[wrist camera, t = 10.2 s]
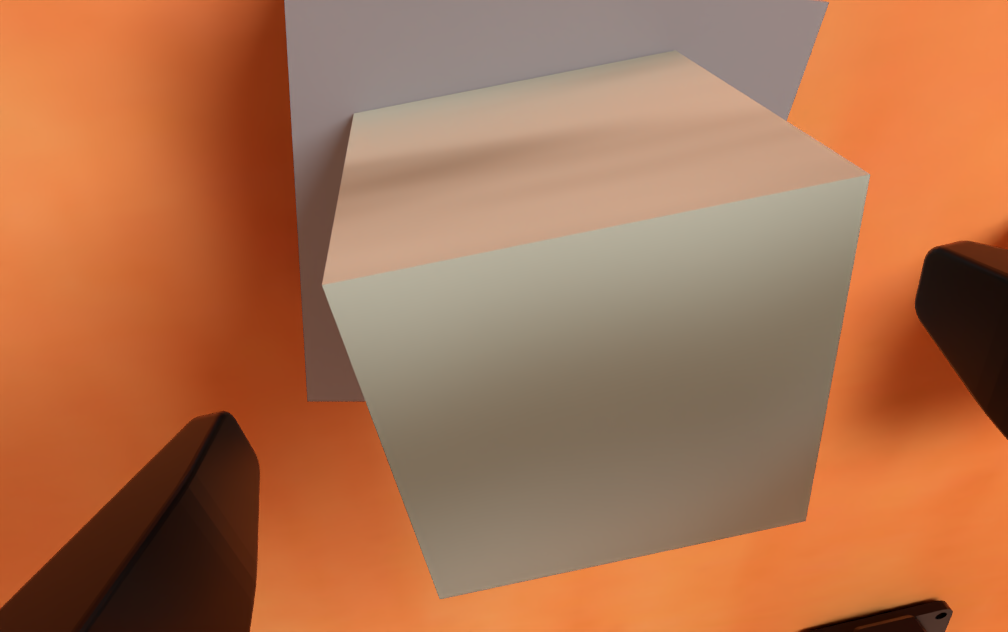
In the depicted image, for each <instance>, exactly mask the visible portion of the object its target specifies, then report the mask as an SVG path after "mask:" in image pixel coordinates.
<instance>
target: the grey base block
mask: <svg viewBox="0 0 1008 632" xmlns="http://www.w3.org/2000/svg"><path fill="white" fill-rule="evenodd" d="M284 4H285V21H286V39H287V56H288V73H289V91H290V108H291V125H292V142H293V160H294V177H295V194H296V212H297V229H298V246H299V264H300V281H301V298H302V315H303V333H304V350H305V367H306V385H307V401H365V399H364V396H363V393H362V391H361V388H360V385H359V383H358V380H357V377H356V375H355V372H354V369H353V367H352V364H351V361H350V359H349V356H348V353H347V351H346V348H345V345H344V343H343V340H342V337H341V335H340V332H339V329H338V327H337V324H336V321H335V319H334V316H333V313H332V311H331V308H330V305H329V303H328V300H327V297H326V295H325V292H324V289H323V287H322V282H323V277H324V271H325V266H326V261H327V255H328V250H329V244H330V239H331V234H332V228H333V223H334V217H335V212H336V207H337V201H338V196H339V191H340V185H341V180H342V174H343V169H344V164H345V158H346V153H347V147H348V142H349V137H350V131H351V126H352V121H353V115H354V113H359V112H364V111H369V110H374V109H379V108H384V107H389V106H394V105H400V104H405V103H410V102H415V101H420V100H425V99H430V98H435V97H440V96H445V95H451V94H456V93H461V92H466V91H471V90H476V89H481V88H486V87H491V86H496V85H502V84H507V83H512V82H517V81H522V80H527V79H532V78H537V77H542V76H547V75H553V74H558V73H563V72H568V71H573V70H578V69H583V68H588V67H593V66H598V65H604V64H609V63H614V62H619V61H624V60H629V59H634V58H639V57H644V56H649V55H655V54H660V53H665V52H670V51H675V50H676V51H677V52H679V53H680V54H682V55H683V56H685V57H687V58H688V59H690V60H691V61H693V62H694V63H696V64H698V65H699V66H701V67H702V68H704V69H705V70H707V71H709V72H710V73H712V74H713V75H715V76H716V77H718V78H720V79H721V80H723V81H724V82H726V83H727V84H729V85H731V86H732V87H734V88H735V89H737V90H738V91H740V92H742V93H743V94H745V95H746V96H748V97H749V98H751V99H753V100H754V101H756V102H757V103H759V104H760V105H762V106H764V107H765V108H767V109H768V110H770V111H771V112H773V113H775V114H776V115H778V116H779V117H781V118H782V119H784V120H786V121H787V118H788V115H789V112H790V110H791V107H792V104H793V101H794V99H795V96H796V93H797V90H798V87H799V85H800V82H801V79H802V76H803V73H804V71H805V68H806V65H807V62H808V59H809V57H810V54H811V51H812V48H813V46H814V43H815V40H816V37H817V34H818V32H819V29H820V26H821V23H822V20H823V18H824V15H825V12H826V9H827V7H828V4H829V2H826V1H822V0H284Z"/></svg>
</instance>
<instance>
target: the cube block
mask: <svg viewBox="0 0 1008 632" xmlns="http://www.w3.org/2000/svg"><path fill="white" fill-rule="evenodd" d="M869 178H870V174H869V173H867V172H866V171H864V170H862V169H861V168H859V167H858V166H856V165H855V164H853V163H852V162H850V161H848V160H847V159H845V158H844V157H842V156H841V155H839V154H837V153H836V152H834V151H833V150H831V149H830V148H828V147H826V146H825V145H823V144H822V143H820V142H819V141H817V140H815V139H814V138H812V137H811V136H809V135H808V134H806V133H804V132H803V131H801V130H800V129H798V128H797V127H795V126H793V125H792V124H790V123H789V122H787V121H786V120H784V119H782V118H781V117H779V116H778V115H776V114H775V113H773V112H771V111H770V110H768V109H767V108H765V107H764V106H762V105H760V104H759V103H757V102H756V101H754V100H753V99H751V98H749V97H748V96H746V95H745V94H743V93H742V92H740V91H738V90H737V89H735V88H734V87H732V86H731V85H729V84H727V83H726V82H724V81H723V80H721V79H720V78H718V77H716V76H715V75H713V74H712V73H710V72H709V71H707V70H705V69H704V68H702V67H701V66H699V65H698V64H696V63H694V62H693V61H691V60H690V59H688V58H687V57H685V56H683V55H682V54H680V53H679V52H677V51H676V50H675V51H670V52H665V53H660V54H655V55H649V56H644V57H639V58H634V59H629V60H624V61H619V62H614V63H609V64H604V65H598V66H593V67H588V68H583V69H578V70H573V71H568V72H563V73H558V74H553V75H547V76H542V77H537V78H532V79H527V80H522V81H517V82H512V83H507V84H502V85H496V86H491V87H486V88H481V89H476V90H471V91H466V92H461V93H456V94H451V95H445V96H440V97H435V98H430V99H425V100H420V101H415V102H410V103H405V104H400V105H394V106H389V107H384V108H379V109H374V110H369V111H364V112H359V113H354V115H353V121H352V126H351V131H350V137H349V142H348V147H347V153H346V158H345V164H344V169H343V174H342V180H341V185H340V191H339V196H338V201H337V207H336V212H335V217H334V223H333V228H332V234H331V239H330V244H329V250H328V255H327V261H326V266H325V271H324V277H323V282H322V287H323V289H324V292H325V295H326V297H327V300H328V303H329V305H330V308H331V311H332V313H333V316H334V319H335V321H336V324H337V327H338V329H339V332H340V335H341V337H342V340H343V343H344V345H345V348H346V351H347V353H348V356H349V359H350V361H351V364H352V367H353V369H354V372H355V375H356V377H357V380H358V383H359V385H360V388H361V391H362V393H363V396H364V399H365V401H366V404H367V407H368V409H369V412H370V415H371V417H372V420H373V423H374V425H375V428H376V431H377V433H378V436H379V439H380V441H381V444H382V447H383V449H384V452H385V455H386V457H387V460H388V463H389V465H390V468H391V471H392V473H393V476H394V479H395V481H396V484H397V487H398V489H399V492H400V494H401V497H402V500H403V502H404V505H405V508H406V510H407V513H408V516H409V518H410V521H411V524H412V526H413V529H414V532H415V534H416V537H417V540H418V542H419V545H420V548H421V550H422V553H423V556H424V558H425V561H426V564H427V566H428V569H429V572H430V574H431V577H432V580H433V582H434V585H435V588H436V590H437V593H438V596H439V598H440V599H444V598H449V597H453V596H458V595H463V594H467V593H472V592H477V591H481V590H486V589H491V588H495V587H500V586H505V585H509V584H514V583H519V582H523V581H528V580H533V579H537V578H542V577H547V576H551V575H556V574H561V573H565V572H570V571H575V570H579V569H584V568H589V567H593V566H598V565H603V564H607V563H612V562H617V561H621V560H626V559H631V558H635V557H640V556H645V555H649V554H654V553H659V552H663V551H668V550H673V549H677V548H682V547H687V546H691V545H696V544H701V543H705V542H710V541H715V540H719V539H724V538H729V537H733V536H738V535H743V534H747V533H752V532H756V531H761V530H766V529H770V528H775V527H780V526H784V525H789V524H794V523H798V522H803V521H806V516H807V511H808V505H809V500H810V495H811V489H812V484H813V479H814V473H815V468H816V462H817V457H818V452H819V446H820V441H821V436H822V430H823V425H824V420H825V414H826V409H827V403H828V398H829V393H830V387H831V382H832V377H833V371H834V366H835V361H836V355H837V350H838V344H839V339H840V334H841V328H842V323H843V318H844V312H845V307H846V301H847V296H848V291H849V285H850V280H851V275H852V269H853V264H854V259H855V253H856V248H857V242H858V237H859V232H860V226H861V221H862V216H863V210H864V205H865V199H866V194H867V189H868V183H869Z"/></svg>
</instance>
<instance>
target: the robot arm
mask: <svg viewBox="0 0 1008 632" xmlns="http://www.w3.org/2000/svg"><path fill="white" fill-rule="evenodd" d="M915 309H916V313H917V316H918V318H919V320H920V322H921V323H922V325H923V326H924V327H925V329H926V330H927V332H928V333H929V335H930V336H931V337H932V339H933V340H934V342H935V343H936V345H937V346H938V347H939V349H940V350H941V352H942V353H943V355H944V356H945V357H946V359H947V360H948V362H949V363H950V365H951V366H952V367H953V369H954V370H955V372H956V373H957V375H958V376H959V377H960V379H961V380H962V382H963V383H964V385H965V386H966V387H967V389H968V390H969V392H970V393H971V395H972V396H973V397H974V399H975V400H976V402H977V403H978V404H979V406H980V407H981V408H982V410H983V411H984V412H985V414H986V415H987V416H988V417H989V418H990V420H991V421H992V422H993V423H994V424H995V426H996V427H997V428H998V429H999V430H1000V432H1001V433H1002V434H1003V435H1004V436H1005V437H1006V439H1007V440H1008V250H1007V249H1003V248H998V247H994V246H989V245H985V244H980V243H976V242H971V241H959V242H954V243H950V244H946V245H941V246H937V247H934V248H933V249H931V250H930V251H929V252H928V253H927V255H926V256H925V259H924V263H923V267H922V272H921V276H920V280H919V285H918V289H917V293H916V298H915ZM259 485H260V469H259V463H258V459H257V456H256V454H255V452H254V450H253V448H252V447H251V445H250V443H249V442H248V440H247V438H246V437H245V435H244V433H243V431H242V430H241V428H240V426H239V425H238V423H237V421H236V419H235V418H234V417H233V416H232V415H231V414H230V413H228V412H225V411H221V412H216V413H212V414H208V415H203V416H199V417H196V418H194V419H192V420H191V421H190V422H189V423H188V424H187V425H186V426H185V427H184V428H183V429H182V430H181V431H180V432H179V433H178V434H177V435H176V436H175V437H174V438H173V439H172V440H171V441H170V442H169V443H168V444H167V445H166V446H165V447H164V448H163V449H162V450H161V451H160V452H159V453H158V454H157V455H156V456H155V457H154V458H153V459H151V460H150V461H149V462H148V463H147V464H146V465H145V466H144V467H143V468H142V469H141V470H140V471H139V472H138V473H137V474H136V475H135V476H134V477H133V478H132V479H131V480H130V481H129V482H128V483H127V484H126V485H125V486H124V487H123V488H122V489H121V490H120V491H119V492H118V493H117V494H116V495H115V496H114V497H113V498H112V499H111V500H110V501H109V502H108V503H107V504H106V505H105V506H104V507H103V508H102V509H101V510H100V511H99V512H98V513H97V514H96V515H95V516H94V517H93V518H92V519H91V520H90V521H89V522H88V523H87V524H86V525H85V526H84V527H83V528H82V529H81V530H80V531H79V532H78V533H77V534H76V535H75V536H74V537H73V538H72V539H70V540H69V541H68V542H67V543H66V544H65V545H64V546H63V547H62V548H61V549H60V550H59V551H58V552H57V553H56V554H55V555H54V556H53V557H52V558H51V559H50V560H49V561H48V562H47V563H46V564H45V565H44V566H43V567H42V568H41V569H40V570H39V571H38V572H37V573H36V574H35V575H34V576H33V577H32V578H31V579H30V580H29V581H28V582H27V583H26V584H25V585H24V586H23V587H22V588H21V589H20V590H19V591H18V592H17V593H16V594H15V595H14V596H13V597H12V598H11V599H10V600H9V601H8V602H7V603H6V604H5V605H4V606H3V607H2V608H1V609H0V632H250V626H251V619H252V612H253V605H254V597H255V589H256V578H257V556H258V520H259ZM952 612H953V611H952V610H951V608H950V607H949V606H948V604H947V603H946V602H945V601H935V602H931V603H927V604H923V605H918V606H914V607H910V608H906V609H902V610H897V611H893V612H889V613H885V614H880V615H876V616H872V617H868V618H864V619H859V620H855V621H851V622H847V623H843V624H838V625H834V626H830V627H826V628H822V629H817V630H813V631H810V632H945V630H946V628H947V625H948V623H949V620H950V618H951V616H952Z"/></svg>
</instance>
